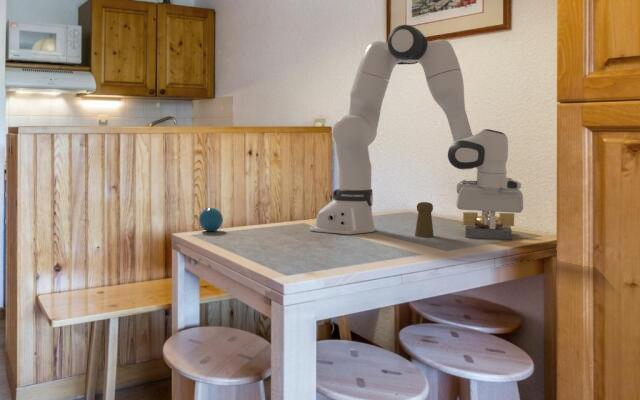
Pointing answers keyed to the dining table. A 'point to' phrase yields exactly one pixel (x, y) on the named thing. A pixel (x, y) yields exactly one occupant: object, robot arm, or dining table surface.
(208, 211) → the ball
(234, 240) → the dining table surface
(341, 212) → the robot arm
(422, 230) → the cork
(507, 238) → the housing
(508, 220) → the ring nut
